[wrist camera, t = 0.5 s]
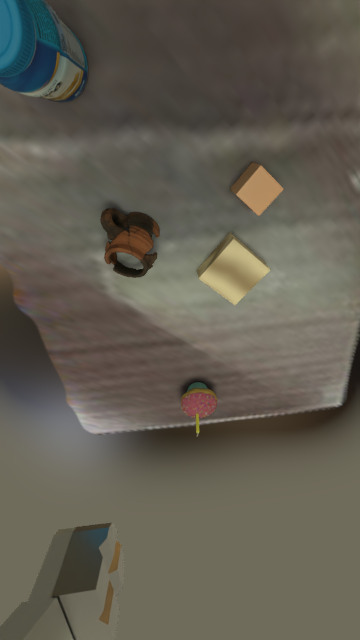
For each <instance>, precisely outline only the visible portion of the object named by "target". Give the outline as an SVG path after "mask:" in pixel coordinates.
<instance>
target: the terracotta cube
mask: <svg viewBox="0 0 360 640" xmlns="http://www.w3.org/2000/svg"><path fill="white" fill-rule="evenodd" d="M230 190H232V191H233V192H234V193H235V194H236V195H237V196H238V197H239V198H240V199H241V200H242V201H243V202H244V203H245V204H246V205H247V206H248V207H249V208H250V209H251V210H253V211H254V212H255V213H256V214H257V215H258V216H259V215H260V214H261V213H262V212H263V211H264V210H265V209H266V208H267V207H268V206H269V205H270V203H271V202H272V201H273V200H274V199H275V198H276V197H277V196H278V195H279V194H280V192H281V191H282V190H283V188H282V187H281V186H280V185H279V184H278V183H277V181H276V180H275V179H274V178H273V177H272V176H271V175H270V174H269V173H268V172H267V171H266V170H265V169H264V168H263V167H262V166H261V165H259V164H256V163H254V162H252V163H251V164H250V165H249V167H248V168H247V169H246V170H245V172H244V173H243V174H242V175H241V176H240V178H239V179H238V180H237V181H236V182H235V184H234V185H233V186H232V187H231V188H230Z"/></svg>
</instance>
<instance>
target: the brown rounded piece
mask: <svg viewBox="0 0 360 640" xmlns="http://www.w3.org/2000/svg"><path fill="white" fill-rule="evenodd" d="M101 224H102V226H103V228H104V229H105V231H106V232H107V235H108V239H109V240H113V241H112V243H110V242H109V241H108V242H107V245H106V249H105V251H106V253H105V261H106V263H107V264H110V263H112V264H113V265H115V266H114V268H113V270H114V271H115V272H117V273H118V274H121V275H123V276H126V277H134V278H136V277H142V276H144V275H145V274H146V273H147V271H148V270H149V269H150V268H151V267H153V265H152V264H153V263H154V261H155V260H156V259H157V253H156V252H155V253H154V254H153V255H152V254H151V255H148V254H146V253H147V252H148V251H149V250H150V249H151V248H152V247H153V240H152V238H151V237H152V234H153V233H152V232H154V234H155V235H156V237H159V235H160V234H159V226H158V225H157V223H156V222H155V221H154V220H153V219H152V218H150V217H149V216H147V215H145V214H142V213H137V212H132V213H130V214H129V215H128V216H126V215H123V214H121V213H120V212H119V211H117V210H116V209H111V208H108V209H106V210H104V211H103V212H102V215H101ZM127 226H128V227H129V231H127V230H124V228H126V227H127ZM115 252H124V253H128V254H132V255H133V256H135V257H136V258H138V259H139V260H140V261H141V262H142V264H143V267H144V268H143V269H138V270H136V269H133V268H128V267H125V266H124V265H122V264H121V263H120V262H118V261H117V256H116V253H115Z"/></svg>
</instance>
